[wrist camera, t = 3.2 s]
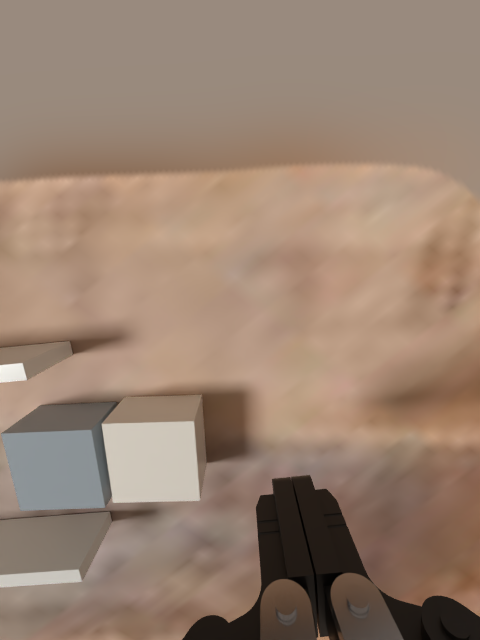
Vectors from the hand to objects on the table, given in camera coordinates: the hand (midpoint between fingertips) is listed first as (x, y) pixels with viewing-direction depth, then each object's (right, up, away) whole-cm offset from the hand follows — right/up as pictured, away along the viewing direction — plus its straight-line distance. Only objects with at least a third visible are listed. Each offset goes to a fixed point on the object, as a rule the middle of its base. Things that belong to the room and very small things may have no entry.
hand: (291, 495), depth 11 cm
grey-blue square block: (-11, 0, +6) cm, 13 cm away
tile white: (-6, 0, +6) cm, 9 cm away
